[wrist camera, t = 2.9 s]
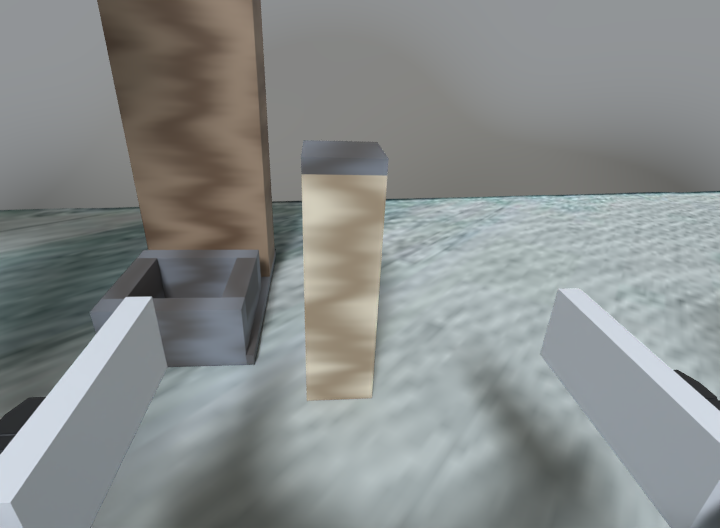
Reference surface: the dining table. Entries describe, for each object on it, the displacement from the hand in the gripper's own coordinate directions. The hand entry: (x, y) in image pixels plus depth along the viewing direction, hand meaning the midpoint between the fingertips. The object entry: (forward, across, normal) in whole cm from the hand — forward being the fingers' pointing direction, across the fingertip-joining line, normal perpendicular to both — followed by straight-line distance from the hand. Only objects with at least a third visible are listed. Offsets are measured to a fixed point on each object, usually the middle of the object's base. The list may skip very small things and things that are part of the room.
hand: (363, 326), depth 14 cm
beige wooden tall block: (+10, 0, -11) cm, 15 cm away
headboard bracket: (+20, -11, -11) cm, 25 cm away
